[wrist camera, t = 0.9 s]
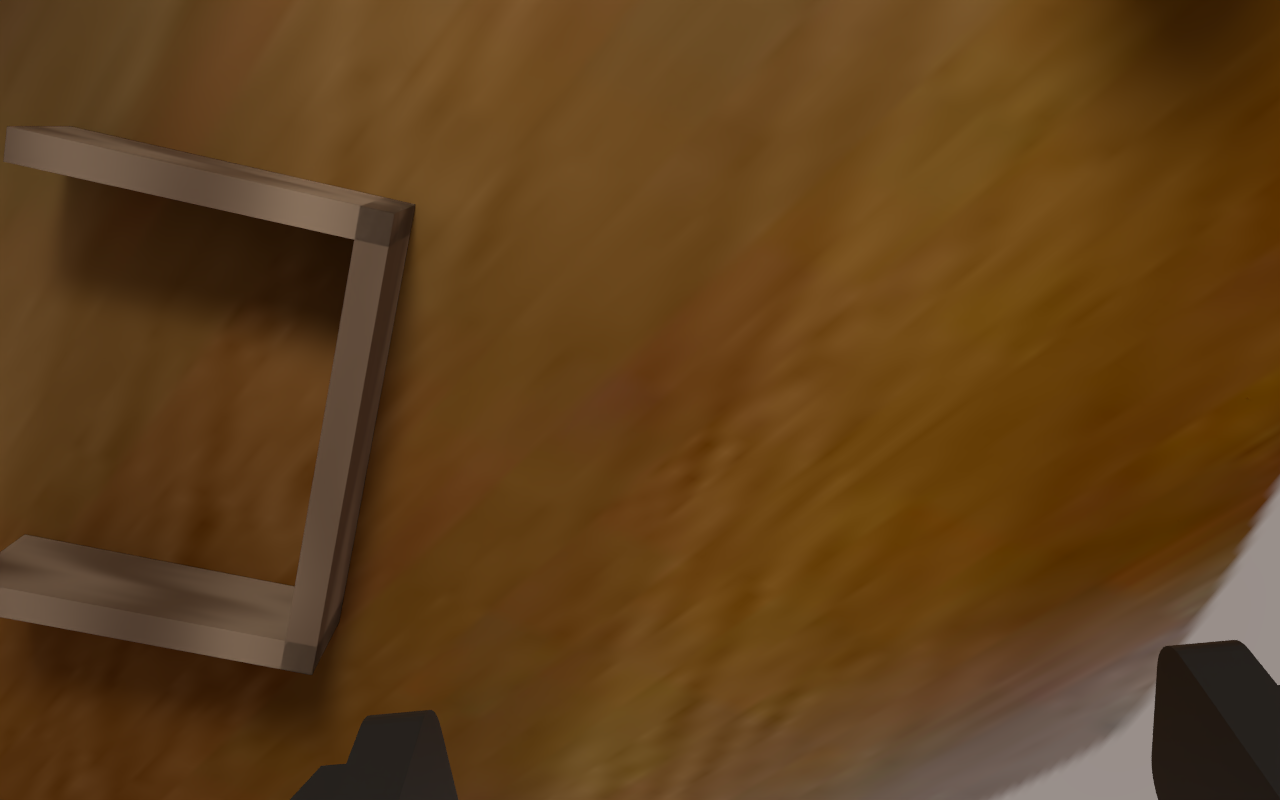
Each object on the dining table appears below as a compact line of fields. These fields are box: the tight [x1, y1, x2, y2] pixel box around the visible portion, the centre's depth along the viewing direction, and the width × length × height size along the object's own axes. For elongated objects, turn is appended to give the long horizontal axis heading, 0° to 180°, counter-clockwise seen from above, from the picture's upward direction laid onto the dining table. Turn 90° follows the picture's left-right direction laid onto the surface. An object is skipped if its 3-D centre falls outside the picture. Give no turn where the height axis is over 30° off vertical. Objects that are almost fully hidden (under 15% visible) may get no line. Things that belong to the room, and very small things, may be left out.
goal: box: [0, 126, 415, 675], centre depth 36 cm, size 11×15×4 cm
